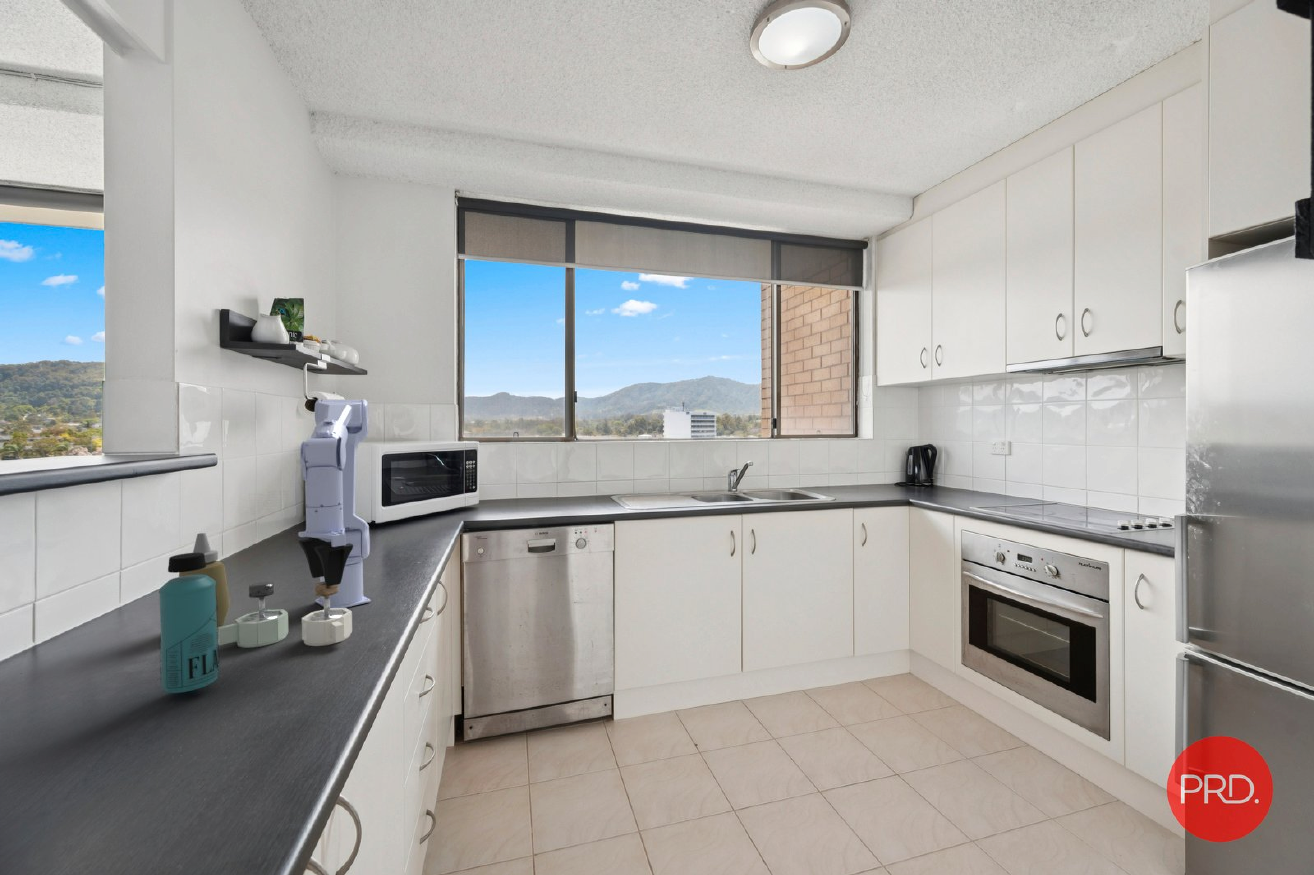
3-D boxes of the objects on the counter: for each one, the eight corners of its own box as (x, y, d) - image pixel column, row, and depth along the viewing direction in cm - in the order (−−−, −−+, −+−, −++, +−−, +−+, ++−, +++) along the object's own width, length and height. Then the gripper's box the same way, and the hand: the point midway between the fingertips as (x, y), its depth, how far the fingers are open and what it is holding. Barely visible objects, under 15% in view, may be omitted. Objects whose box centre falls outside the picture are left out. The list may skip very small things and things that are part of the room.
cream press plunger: (307, 619, 99) (306, 583, 99) (337, 612, 103) (337, 577, 102) (316, 626, 96) (315, 589, 95) (347, 618, 99) (346, 582, 99)
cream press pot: (298, 638, 99) (298, 615, 99) (342, 627, 104) (342, 605, 104) (316, 653, 92) (315, 628, 92) (362, 641, 98) (361, 617, 98)
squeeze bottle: (241, 621, 108) (239, 529, 107) (203, 637, 100) (201, 538, 99) (203, 620, 109) (201, 529, 108) (163, 636, 101) (160, 537, 100)
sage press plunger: (241, 621, 98) (240, 585, 98) (275, 613, 102) (274, 579, 102) (248, 628, 95) (247, 590, 95) (282, 620, 99) (281, 584, 99)
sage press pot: (280, 629, 104) (280, 606, 104) (292, 638, 99) (291, 615, 99) (214, 644, 96) (214, 620, 96) (223, 656, 92) (222, 631, 92)
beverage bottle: (186, 706, 75) (182, 560, 75) (147, 702, 76) (143, 558, 76) (231, 684, 82) (228, 549, 81) (195, 680, 83) (192, 548, 82)
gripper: (286, 503, 100) (288, 577, 101) (312, 512, 91) (313, 594, 91) (329, 499, 106) (331, 570, 106) (358, 507, 96) (359, 584, 96)
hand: (326, 580), depth 99 cm, fingers open, 7 cm apart
